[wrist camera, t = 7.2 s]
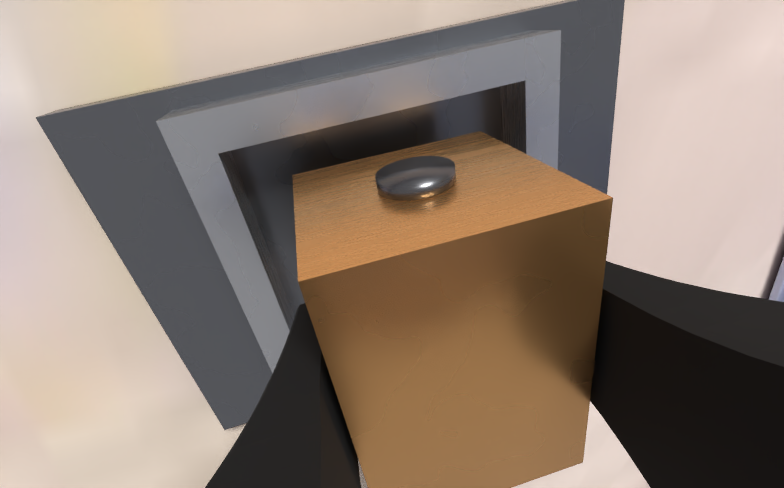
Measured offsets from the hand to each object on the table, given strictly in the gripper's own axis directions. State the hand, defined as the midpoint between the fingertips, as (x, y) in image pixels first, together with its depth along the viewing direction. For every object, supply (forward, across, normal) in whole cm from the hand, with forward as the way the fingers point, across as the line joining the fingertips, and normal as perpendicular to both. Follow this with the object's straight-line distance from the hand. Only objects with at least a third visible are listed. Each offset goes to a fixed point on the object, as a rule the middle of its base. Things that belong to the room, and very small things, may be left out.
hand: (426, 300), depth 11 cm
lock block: (+2, 0, 0) cm, 2 cm away
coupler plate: (+4, 0, 0) cm, 4 cm away
